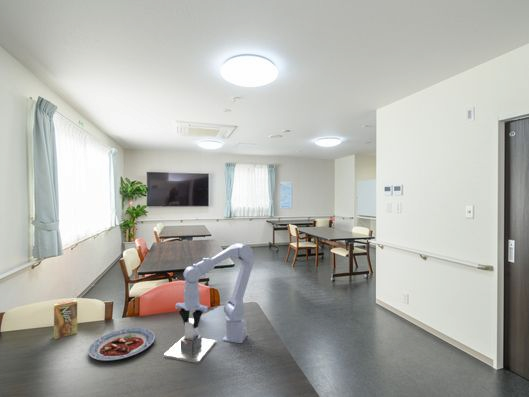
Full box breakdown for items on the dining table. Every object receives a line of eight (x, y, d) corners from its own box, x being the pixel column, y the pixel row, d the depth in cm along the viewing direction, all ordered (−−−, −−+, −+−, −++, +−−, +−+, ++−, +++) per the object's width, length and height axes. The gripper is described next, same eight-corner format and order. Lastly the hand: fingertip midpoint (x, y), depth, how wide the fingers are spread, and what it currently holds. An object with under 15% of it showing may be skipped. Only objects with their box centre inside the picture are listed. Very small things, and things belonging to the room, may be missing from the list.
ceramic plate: (128, 369, 103) (128, 361, 103) (72, 360, 108) (72, 353, 108) (166, 335, 128) (166, 329, 128) (119, 330, 133) (119, 324, 133)
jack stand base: (216, 342, 122) (216, 331, 122) (198, 363, 106) (198, 350, 106) (184, 337, 126) (184, 326, 126) (163, 356, 110) (163, 344, 110)
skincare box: (200, 318, 146) (200, 290, 146) (190, 321, 142) (190, 293, 142) (192, 313, 152) (193, 287, 152) (183, 316, 148) (183, 289, 148)
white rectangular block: (197, 338, 118) (198, 319, 118) (193, 343, 114) (193, 323, 114) (189, 337, 119) (189, 318, 119) (184, 342, 115) (184, 322, 115)
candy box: (76, 330, 132) (76, 299, 132) (77, 333, 129) (77, 301, 129) (53, 336, 127) (53, 303, 127) (54, 339, 123) (54, 306, 123)
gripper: (171, 296, 114) (171, 328, 114) (202, 300, 110) (202, 333, 110) (180, 291, 121) (180, 321, 121) (210, 294, 117) (209, 325, 117)
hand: (191, 326), depth 116 cm, fingers closed on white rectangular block, 4 cm apart
